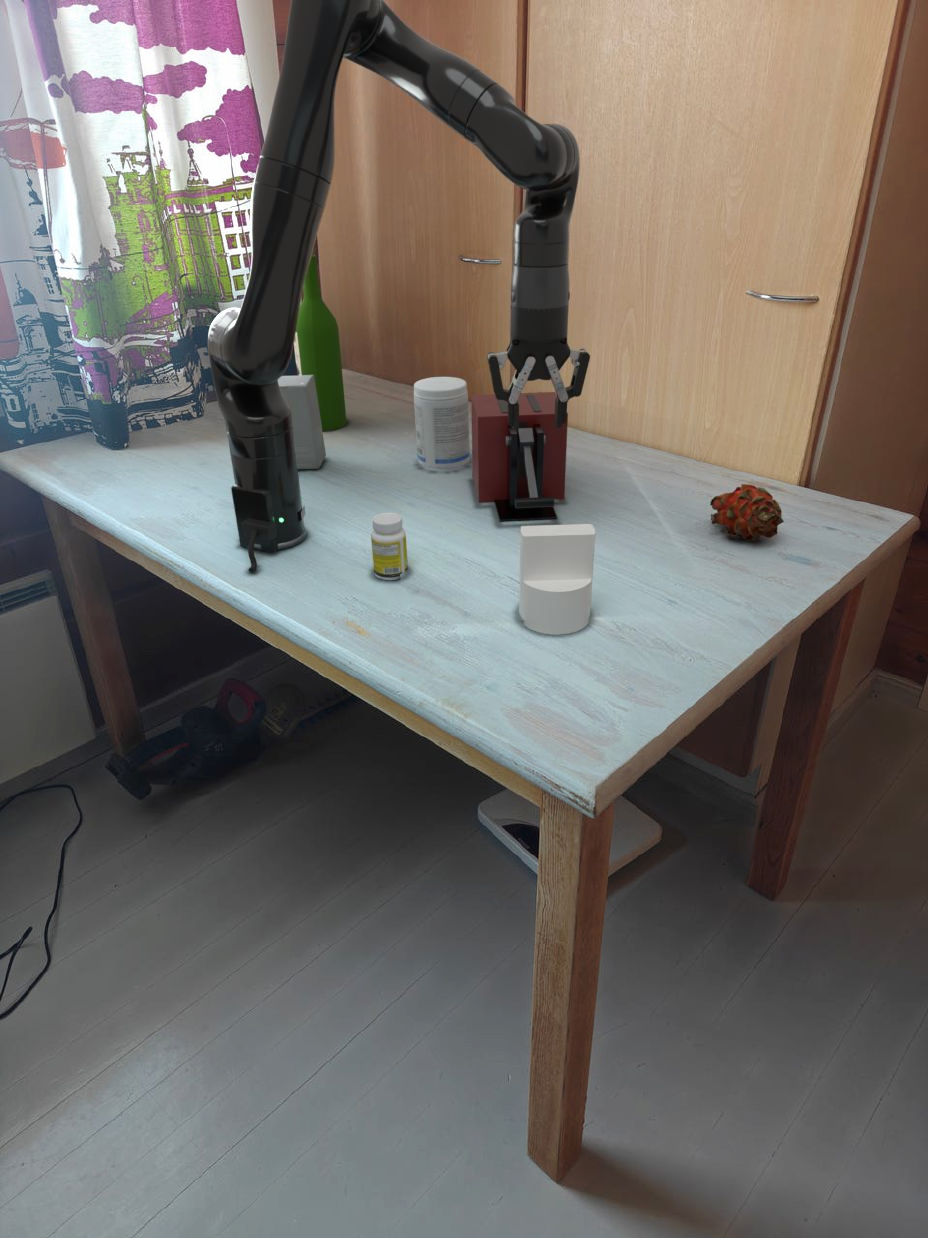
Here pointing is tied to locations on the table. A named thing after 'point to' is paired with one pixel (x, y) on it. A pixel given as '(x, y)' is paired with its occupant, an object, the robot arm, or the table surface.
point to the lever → (530, 473)
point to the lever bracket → (507, 506)
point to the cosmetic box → (304, 419)
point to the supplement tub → (442, 422)
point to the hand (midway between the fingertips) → (536, 426)
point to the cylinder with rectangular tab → (556, 577)
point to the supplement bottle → (389, 546)
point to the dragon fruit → (747, 512)
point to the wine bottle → (320, 351)
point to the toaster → (493, 449)
